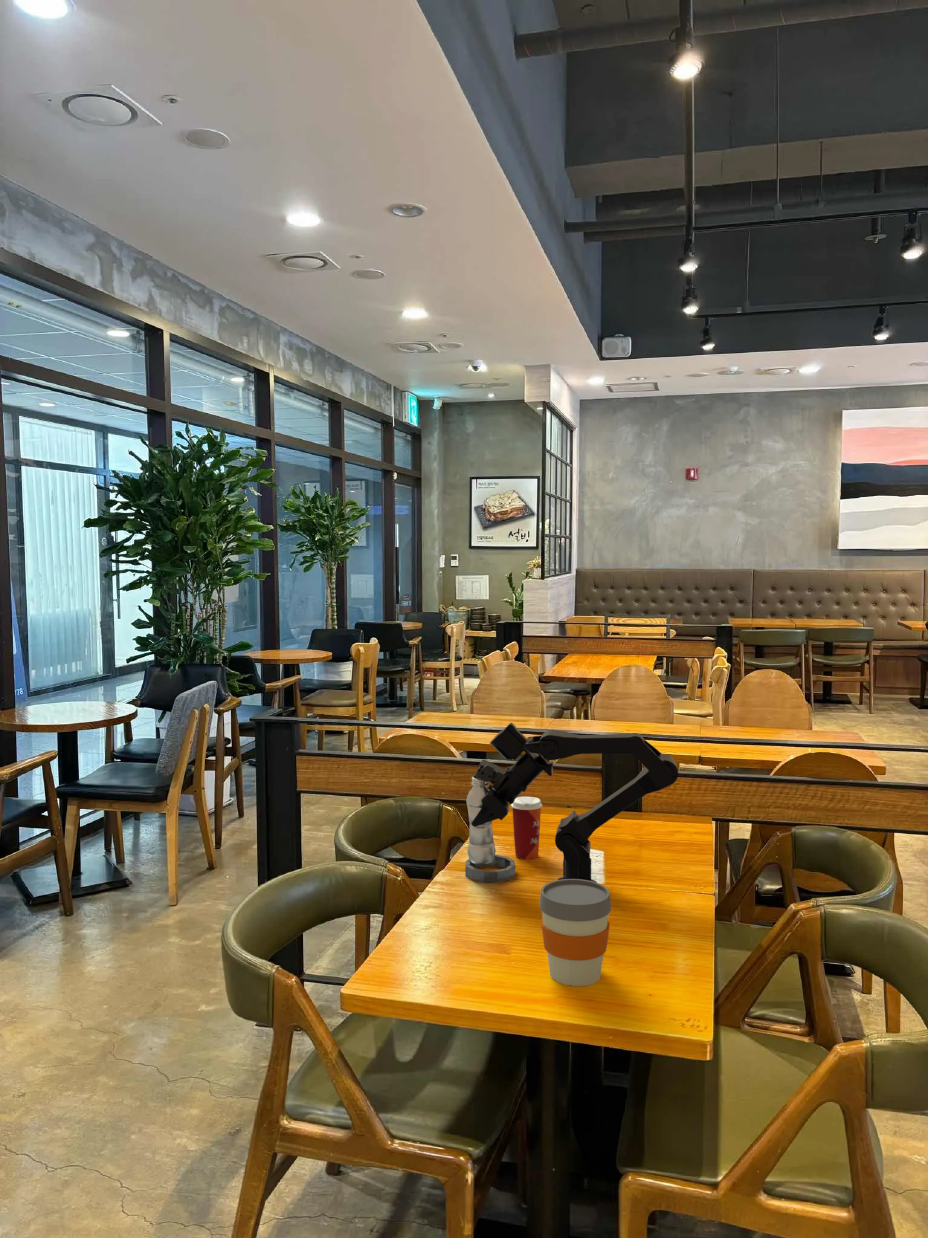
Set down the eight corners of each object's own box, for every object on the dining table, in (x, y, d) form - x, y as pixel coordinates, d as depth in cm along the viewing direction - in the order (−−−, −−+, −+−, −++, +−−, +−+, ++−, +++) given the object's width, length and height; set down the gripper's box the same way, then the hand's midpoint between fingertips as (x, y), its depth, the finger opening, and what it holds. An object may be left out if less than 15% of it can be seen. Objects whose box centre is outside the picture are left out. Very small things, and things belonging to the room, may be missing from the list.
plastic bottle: (467, 867, 199) (465, 781, 197) (468, 857, 206) (466, 773, 204) (495, 867, 199) (493, 780, 197) (495, 857, 206) (493, 772, 204)
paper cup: (543, 861, 213) (543, 804, 212) (511, 861, 213) (511, 804, 212) (541, 850, 221) (541, 795, 220) (510, 850, 221) (510, 795, 220)
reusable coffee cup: (534, 959, 162) (534, 879, 161) (602, 956, 163) (602, 877, 161) (545, 993, 149) (545, 907, 148) (618, 990, 150) (619, 904, 149)
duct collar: (524, 876, 203) (524, 866, 203) (481, 886, 198) (481, 875, 197) (498, 861, 213) (498, 851, 213) (456, 870, 208) (456, 860, 207)
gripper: (501, 740, 209) (457, 785, 212) (490, 758, 191) (441, 807, 193) (535, 774, 208) (490, 818, 211) (527, 795, 190) (478, 843, 193)
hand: (474, 821), depth 202 cm, fingers closed on plastic bottle, 6 cm apart
